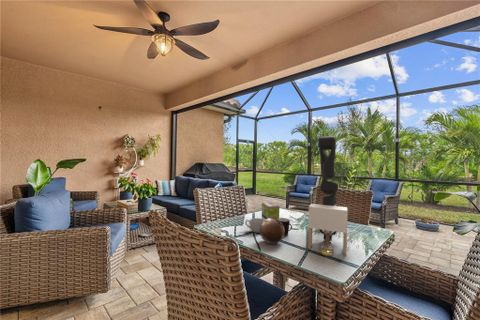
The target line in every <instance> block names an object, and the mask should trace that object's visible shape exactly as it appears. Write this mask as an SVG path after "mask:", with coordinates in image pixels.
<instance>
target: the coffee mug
mask: <svg viewBox="0 0 480 320" xmlns="http://www.w3.org/2000/svg"><path fill="white" fill-rule="evenodd" d="M278 220H279V221H280V222H281V223H282V224H283V226H284V230H285V233H284V237H287V236H289V232H290V231H292V229H293V226H292V224H291V219H290V218H287V217H286V218H285V217H279V218H278Z"/></svg>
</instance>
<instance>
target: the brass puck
mask: <svg viewBox="0 0 480 320" xmlns="http://www.w3.org/2000/svg"><path fill="white" fill-rule="evenodd" d="M320 254H321V255H322V256H324V257H333V253H332V251H331V250H329V249H321V251H320Z"/></svg>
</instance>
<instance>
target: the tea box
mask: <svg viewBox="0 0 480 320" xmlns="http://www.w3.org/2000/svg"><path fill="white" fill-rule="evenodd" d="M268 218H276V219H278V218H280V205H278V204H276V203H275V202H273V201H270V202H267V201H266V202H265V201H264V202H261V219H264V220H266V219H268Z"/></svg>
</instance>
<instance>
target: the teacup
mask: <svg viewBox="0 0 480 320" xmlns="http://www.w3.org/2000/svg"><path fill="white" fill-rule="evenodd" d="M263 221H264V219H262V218H259V217H255V218H254V217H253V218H250V220H249V219H246V220H245V222H244V225H245V226H247V227H248V228H249V229H250V230H251V232H253V233H257V234H260V225H261V223H262V222H263ZM247 222H248V223H247Z"/></svg>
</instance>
